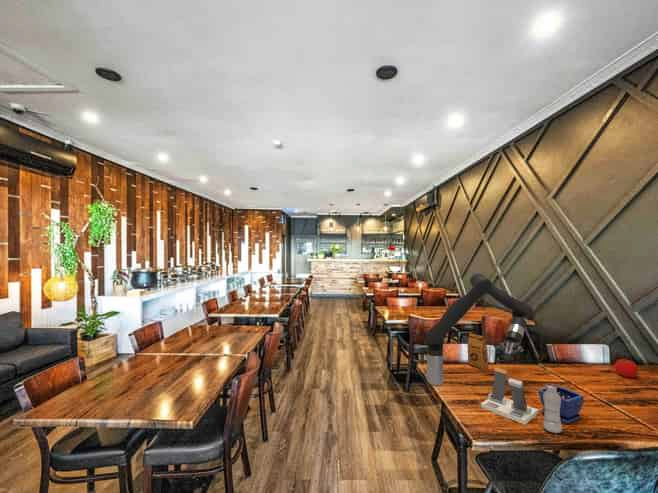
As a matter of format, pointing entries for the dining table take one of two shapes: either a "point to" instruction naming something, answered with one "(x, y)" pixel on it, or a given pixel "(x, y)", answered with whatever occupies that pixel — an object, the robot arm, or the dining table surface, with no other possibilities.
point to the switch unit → (509, 410)
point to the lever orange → (499, 384)
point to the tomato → (626, 368)
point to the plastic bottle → (552, 409)
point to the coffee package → (477, 351)
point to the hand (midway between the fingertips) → (506, 360)
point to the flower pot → (566, 404)
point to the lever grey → (518, 394)
